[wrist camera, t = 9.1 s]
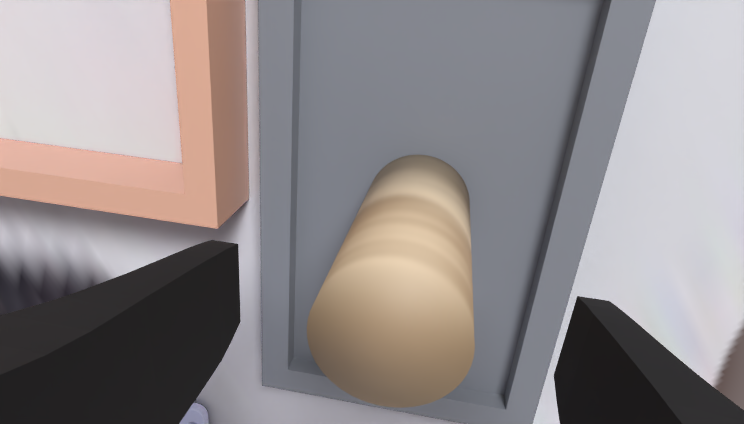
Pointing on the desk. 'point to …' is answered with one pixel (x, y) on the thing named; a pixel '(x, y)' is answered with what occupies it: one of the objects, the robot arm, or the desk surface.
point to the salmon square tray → (197, 131)
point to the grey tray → (450, 144)
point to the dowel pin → (400, 290)
